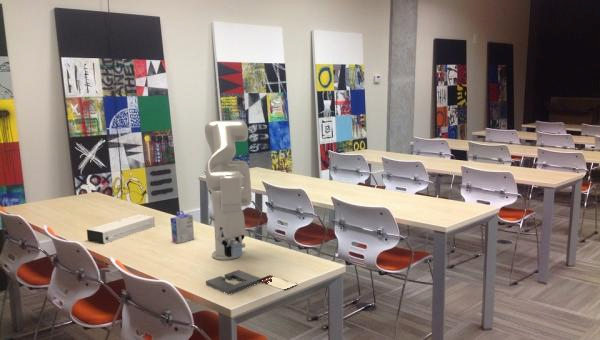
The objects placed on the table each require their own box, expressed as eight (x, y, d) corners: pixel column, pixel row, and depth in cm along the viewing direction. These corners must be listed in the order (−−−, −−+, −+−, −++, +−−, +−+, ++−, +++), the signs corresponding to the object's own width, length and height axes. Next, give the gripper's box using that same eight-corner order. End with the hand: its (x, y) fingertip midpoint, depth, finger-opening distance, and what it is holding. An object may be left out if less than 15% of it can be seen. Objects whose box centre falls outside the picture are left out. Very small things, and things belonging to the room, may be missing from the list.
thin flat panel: (269, 275, 206) (298, 284, 197) (269, 276, 206) (298, 285, 197) (256, 280, 201) (285, 290, 191) (256, 282, 201) (285, 291, 191)
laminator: (139, 224, 284) (139, 214, 283) (156, 227, 278) (155, 216, 277) (87, 241, 255) (86, 229, 254) (104, 245, 249) (103, 232, 248)
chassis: (238, 273, 209) (238, 269, 209) (261, 282, 200) (261, 278, 199) (205, 284, 198) (205, 281, 197) (229, 294, 188) (228, 290, 188)
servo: (229, 251, 201) (229, 237, 200) (244, 256, 195) (244, 242, 194) (221, 253, 198) (221, 239, 197) (236, 259, 192) (236, 244, 191)
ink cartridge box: (188, 237, 260) (186, 209, 257) (194, 239, 256) (193, 210, 253) (171, 241, 252) (169, 212, 250) (177, 243, 249) (176, 214, 246)
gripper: (242, 202, 202) (243, 247, 205) (207, 210, 190) (209, 257, 193) (254, 205, 197) (256, 251, 200) (219, 213, 185) (221, 262, 188)
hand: (233, 254), depth 196 cm, fingers closed on servo, 4 cm apart
